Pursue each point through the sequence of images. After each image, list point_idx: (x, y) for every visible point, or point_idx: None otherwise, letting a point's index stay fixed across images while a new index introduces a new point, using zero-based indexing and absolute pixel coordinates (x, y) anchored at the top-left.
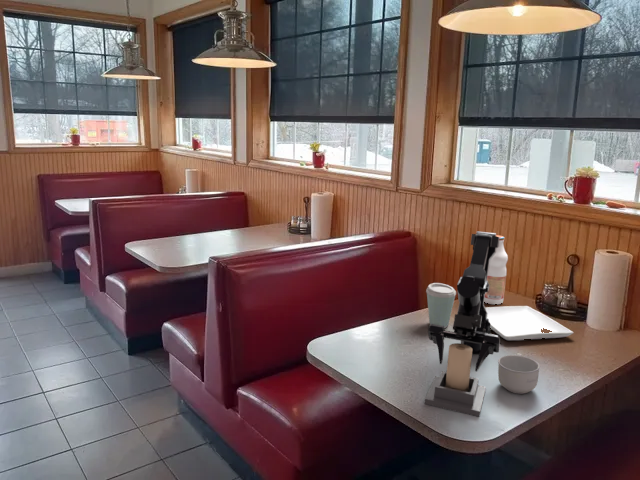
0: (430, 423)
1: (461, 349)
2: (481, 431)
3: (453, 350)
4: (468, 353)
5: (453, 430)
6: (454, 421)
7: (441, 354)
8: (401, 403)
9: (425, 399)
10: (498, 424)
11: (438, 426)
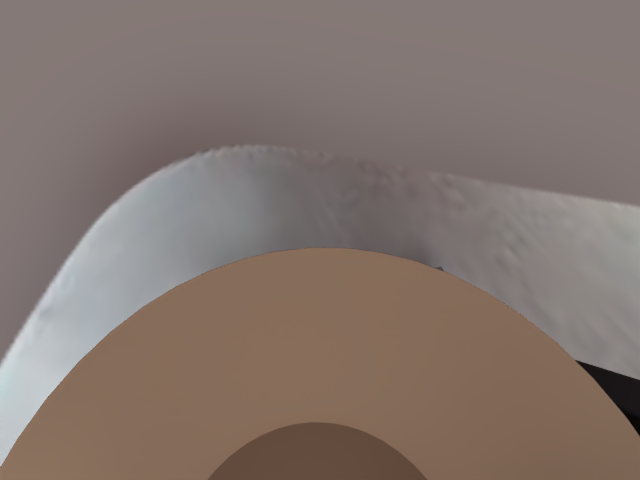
0: (329, 168)
1: (248, 451)
2: (132, 243)
3: (395, 266)
4: (57, 413)
5: (236, 182)
6: (254, 238)
7: (623, 400)
8: (514, 214)
9: (437, 268)
10: (62, 348)
11: (295, 170)
